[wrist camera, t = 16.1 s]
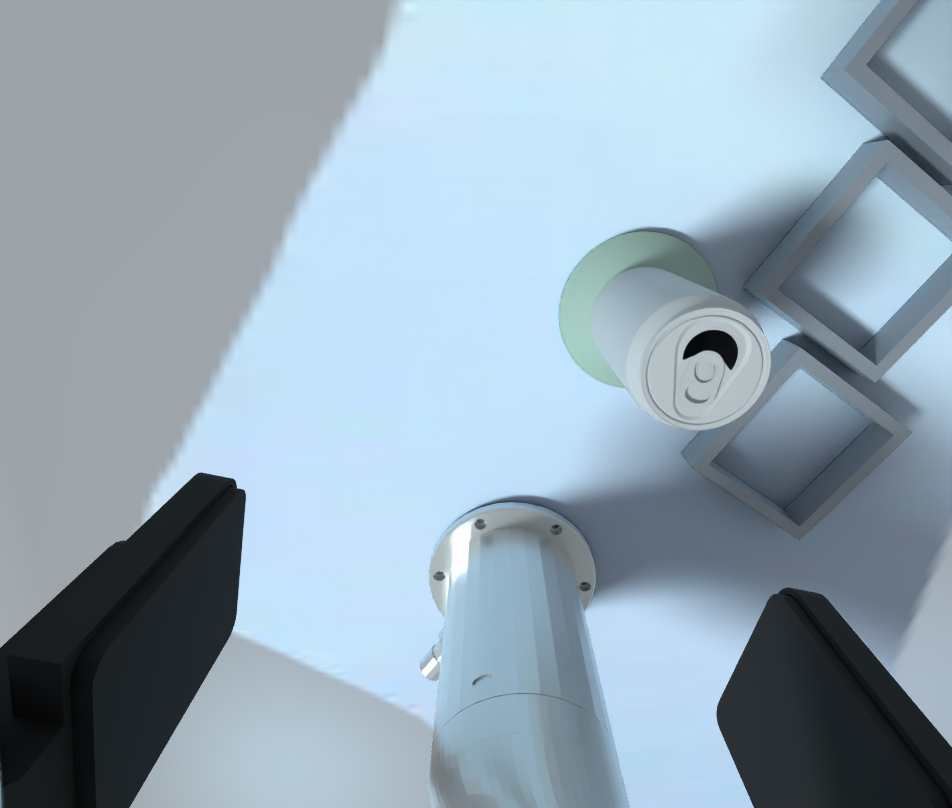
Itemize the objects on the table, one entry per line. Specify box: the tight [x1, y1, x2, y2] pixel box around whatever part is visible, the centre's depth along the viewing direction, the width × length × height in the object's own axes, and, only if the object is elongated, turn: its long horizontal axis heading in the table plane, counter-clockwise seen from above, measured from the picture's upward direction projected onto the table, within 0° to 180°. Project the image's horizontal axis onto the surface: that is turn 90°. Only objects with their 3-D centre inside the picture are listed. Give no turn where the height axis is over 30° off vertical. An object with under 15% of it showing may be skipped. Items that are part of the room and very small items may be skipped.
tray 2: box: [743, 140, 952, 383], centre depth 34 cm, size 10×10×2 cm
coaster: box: [559, 231, 718, 388], centre depth 36 cm, size 10×10×1 cm
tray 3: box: [681, 339, 912, 540], centre depth 38 cm, size 10×10×2 cm
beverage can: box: [590, 267, 771, 430], centre depth 30 cm, size 6×6×12 cm
